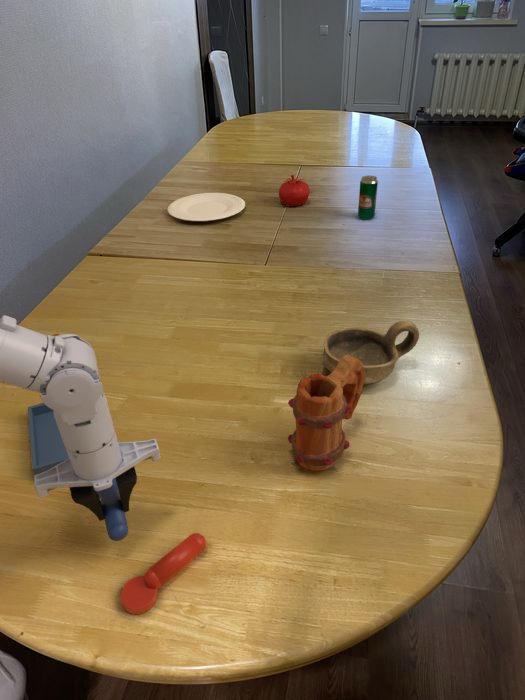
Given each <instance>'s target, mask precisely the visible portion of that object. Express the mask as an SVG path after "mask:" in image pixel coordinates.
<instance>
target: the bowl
mask: <svg viewBox="0 0 525 700" xmlns="http://www.w3.org/2000/svg"><path fill="white" fill-rule="evenodd" d="M403 332H407V335H406V336H405V338H404V339H403V340H402V341H401V342H399V343H397V344H396V339H397V338H398V336H399V335H400V334H401V333H403ZM419 340H420V331H419V328H418V327H417V325H416V324H415V322H413V321H411V320H405V319H403V320H399V321H396V322H394V323H393V324H392V325H390V327H389V328H388V330H387V331H386V333H382V332H379V331H375V330H373V329H368V328H361V327H343V328H339V329H337V330H334V331H332V332H331V333H328V334H327V335H326V336H325V338H324V340H323V352H322V355H321V359H320V363H321V365H323V366H324V368H326V369H327V370H328V371H329V372H330V373H332V372H333V371H334V370H335V368H336V366H337V365H338V363H339V361H340V360H341V358H343V357H344V356H345V355H350V356H352V357H355V358H356V359H358V360H360V361H361V362H362V364H363V367H364V371H365V379H364V385H369V384H375V383H379V382H382V381H383V380H385V379H387V378H388V377H389V376H390V375H391V374H392V373H393V371H394V369H395V365H396V363H397V362H398V360H399V359H400V358H401V357H402V356H405V355H406V354H408V353H410V352H411V351H412V350H413V349H414V348H415V347H416V345H417V343H418V342H419Z"/></svg>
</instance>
